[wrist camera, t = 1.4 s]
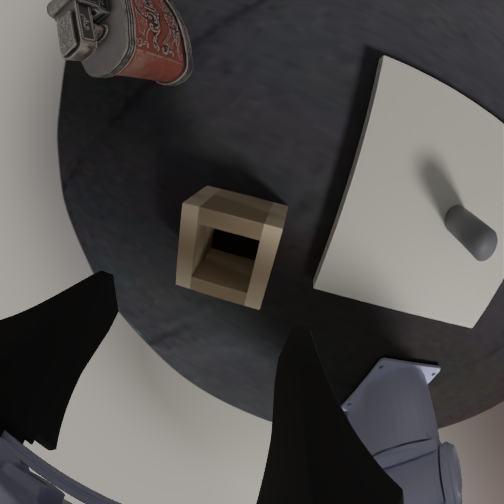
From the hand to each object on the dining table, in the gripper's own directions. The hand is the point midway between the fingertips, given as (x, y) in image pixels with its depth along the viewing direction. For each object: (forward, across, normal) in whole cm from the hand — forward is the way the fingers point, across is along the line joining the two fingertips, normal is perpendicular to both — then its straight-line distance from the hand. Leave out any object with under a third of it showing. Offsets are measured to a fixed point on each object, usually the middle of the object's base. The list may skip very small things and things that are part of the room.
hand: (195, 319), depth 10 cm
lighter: (+11, +8, -12) cm, 18 cm away
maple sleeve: (+10, 0, +1) cm, 10 cm away
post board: (+9, -14, -5) cm, 18 cm away
